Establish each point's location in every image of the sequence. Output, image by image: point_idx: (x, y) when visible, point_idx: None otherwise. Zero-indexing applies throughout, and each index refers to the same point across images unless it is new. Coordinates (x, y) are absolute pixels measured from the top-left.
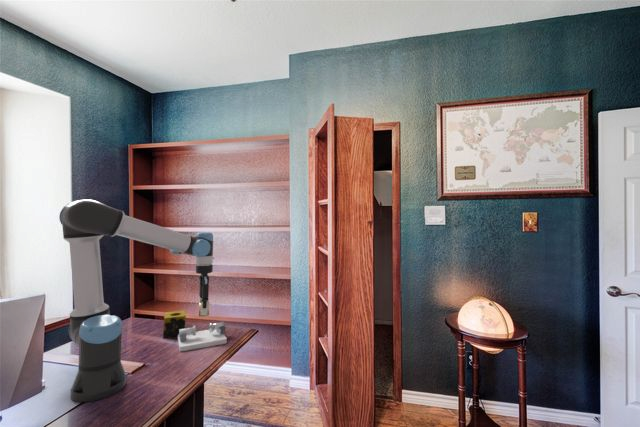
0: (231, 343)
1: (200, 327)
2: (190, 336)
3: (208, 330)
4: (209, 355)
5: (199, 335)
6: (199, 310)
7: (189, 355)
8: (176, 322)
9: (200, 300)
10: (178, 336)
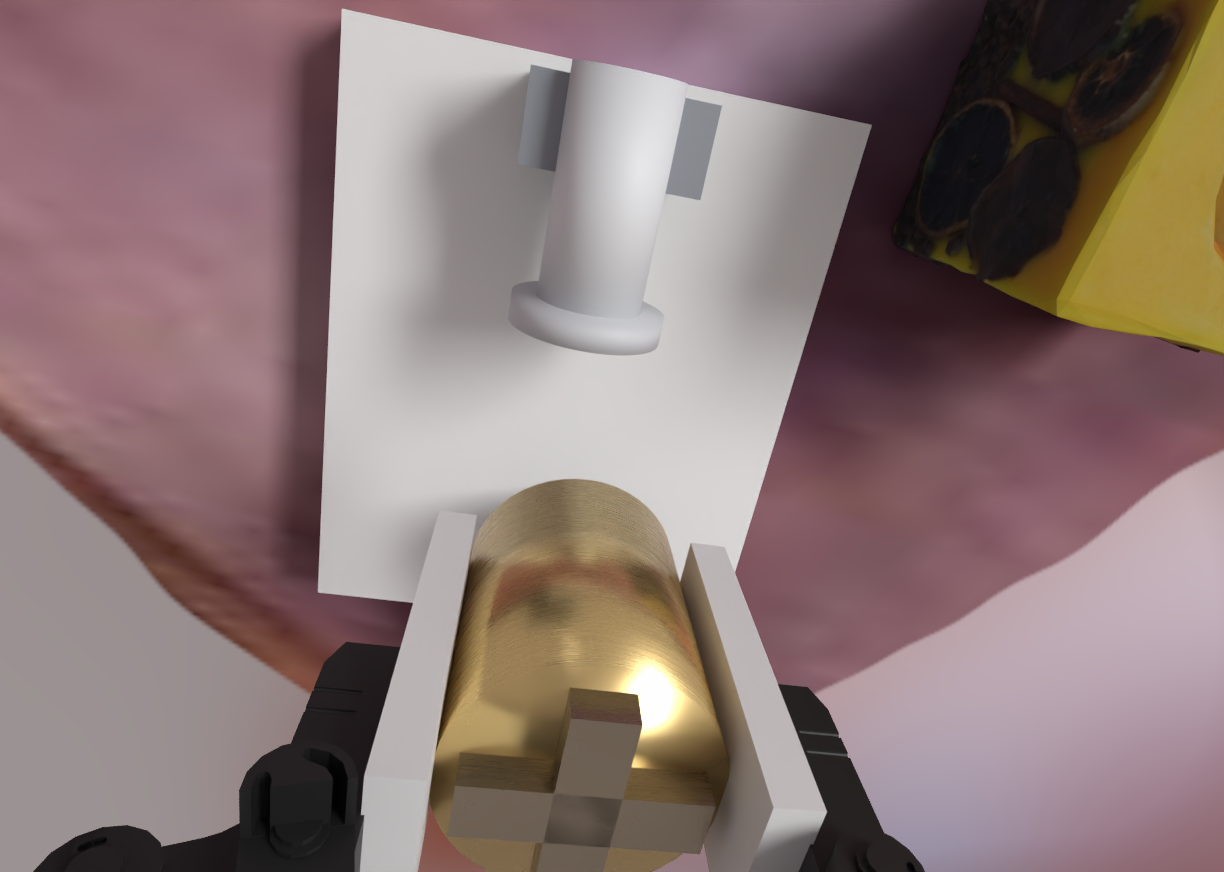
0: (299, 597)
1: (1008, 476)
2: (670, 261)
3: (726, 508)
4: (57, 308)
5: (626, 370)
6: (555, 547)
7: (165, 96)
8: (1068, 134)
9: (274, 784)
10: (784, 112)
